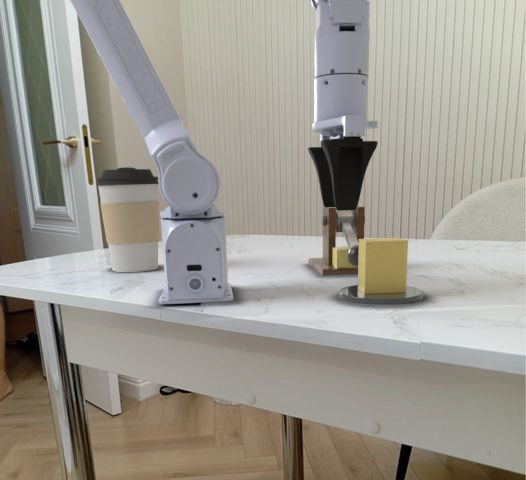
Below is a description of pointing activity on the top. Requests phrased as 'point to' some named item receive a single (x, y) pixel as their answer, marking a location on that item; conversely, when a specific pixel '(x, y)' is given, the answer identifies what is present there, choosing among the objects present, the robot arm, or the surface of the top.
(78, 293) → the top surface
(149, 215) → the coffee cup
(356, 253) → the ball knob lever
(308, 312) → the top surface
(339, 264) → the butter block
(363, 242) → the butter portion
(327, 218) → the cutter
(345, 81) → the robot arm
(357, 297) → the plate
